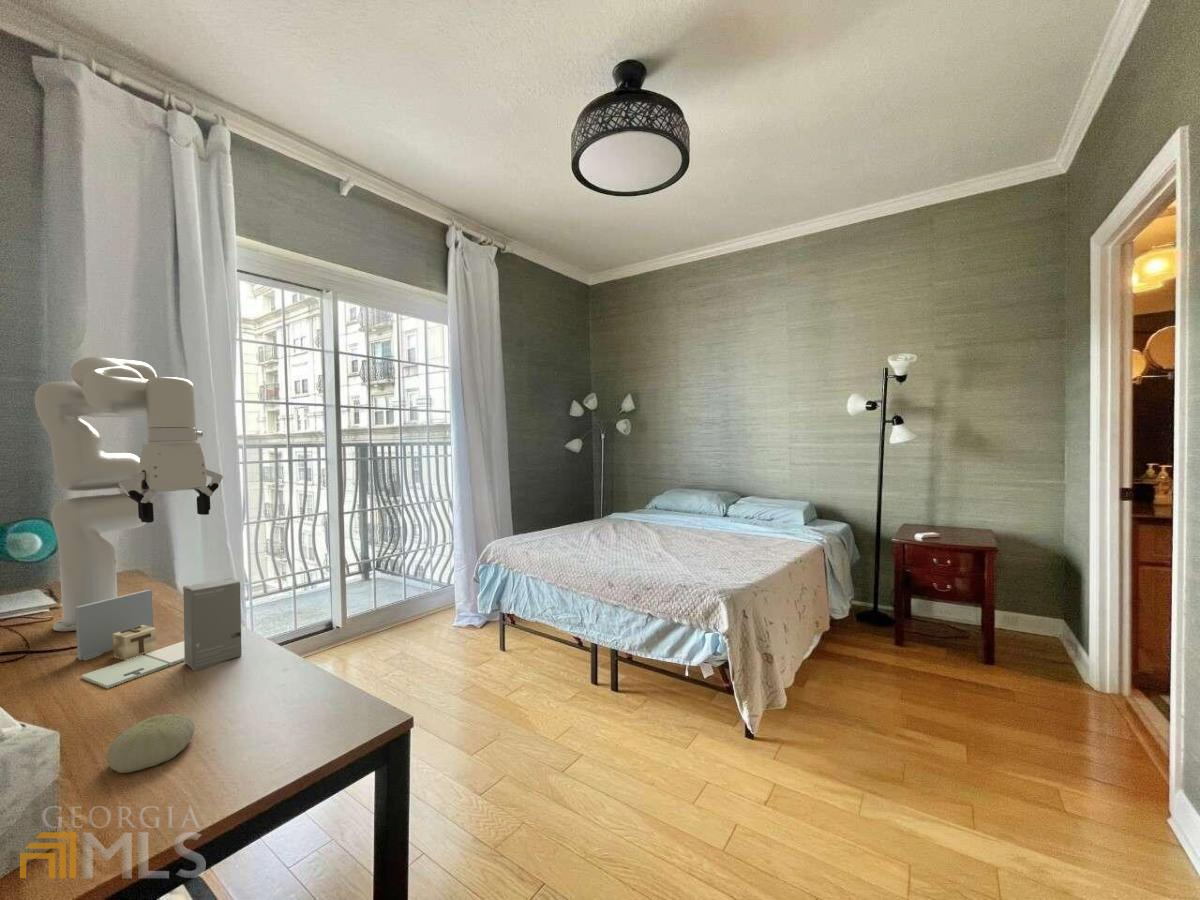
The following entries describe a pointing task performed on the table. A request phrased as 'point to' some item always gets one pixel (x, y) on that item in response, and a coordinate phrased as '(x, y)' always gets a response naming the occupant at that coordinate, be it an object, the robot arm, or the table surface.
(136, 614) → the screen
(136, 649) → the letter cube
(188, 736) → the sea urchin shell
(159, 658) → the pad
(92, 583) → the robot arm
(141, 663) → the pad
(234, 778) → the table surface
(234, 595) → the skincare box
